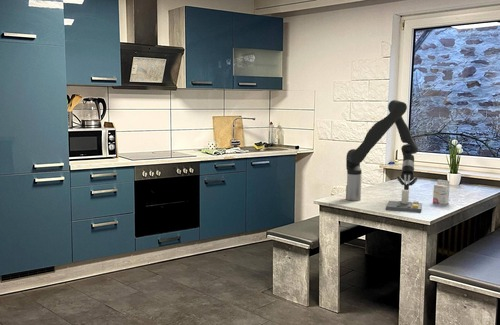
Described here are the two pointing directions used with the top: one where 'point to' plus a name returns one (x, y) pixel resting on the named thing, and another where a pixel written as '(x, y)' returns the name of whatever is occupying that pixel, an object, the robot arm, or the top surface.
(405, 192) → the switch tab
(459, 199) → the top surface
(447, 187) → the ink cartridge box
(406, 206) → the switch panel
